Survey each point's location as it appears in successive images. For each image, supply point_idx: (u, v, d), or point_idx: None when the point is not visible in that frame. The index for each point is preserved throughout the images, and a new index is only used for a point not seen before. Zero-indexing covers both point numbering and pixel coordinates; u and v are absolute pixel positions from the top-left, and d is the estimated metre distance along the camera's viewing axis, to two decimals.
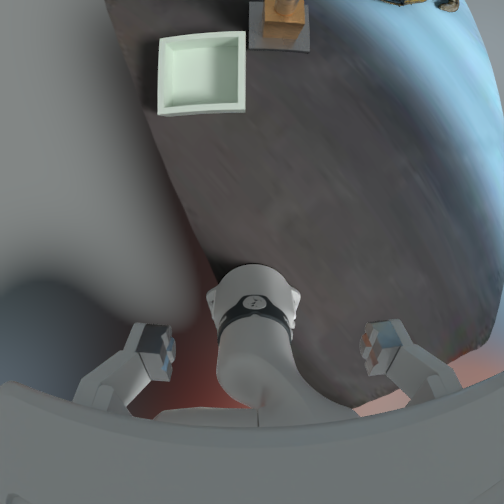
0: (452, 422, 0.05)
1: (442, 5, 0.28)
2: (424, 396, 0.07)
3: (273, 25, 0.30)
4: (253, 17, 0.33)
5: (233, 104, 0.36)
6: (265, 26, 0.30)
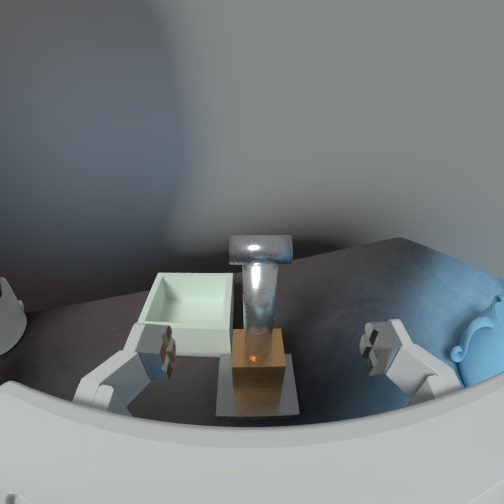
0: (452, 422, 0.05)
1: None
2: (424, 396, 0.07)
3: None
4: None
5: (144, 317, 0.37)
6: None
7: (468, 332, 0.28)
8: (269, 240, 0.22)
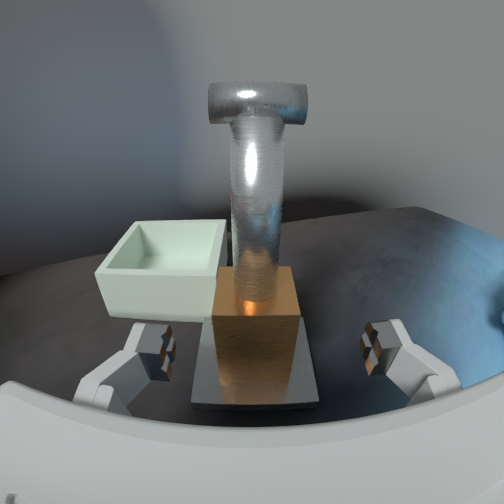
0: (452, 422, 0.05)
1: None
2: (424, 396, 0.07)
3: None
4: None
5: (106, 265, 0.27)
6: None
7: None
8: (271, 82, 0.12)
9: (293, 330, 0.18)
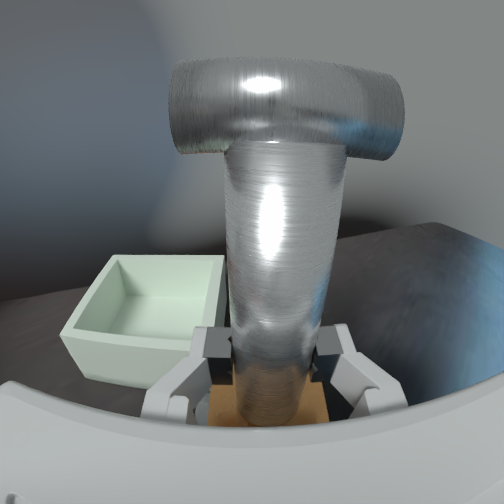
0: (452, 422, 0.05)
1: None
2: (361, 410, 0.07)
3: None
4: None
5: (73, 322, 0.19)
6: None
7: None
8: (320, 62, 0.05)
9: None
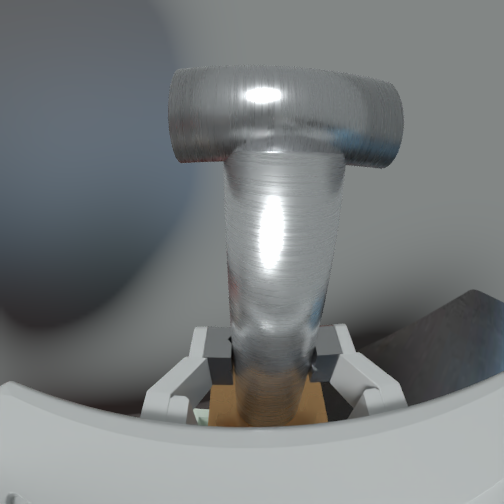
0: (452, 422, 0.05)
1: None
2: (361, 411, 0.07)
3: None
4: None
5: None
6: None
7: None
8: (319, 70, 0.05)
9: None
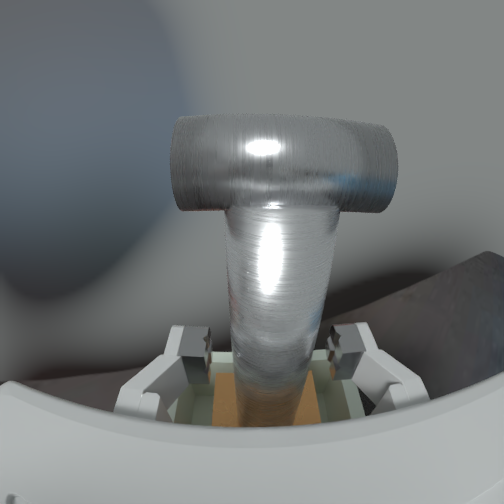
0: (452, 422, 0.05)
1: None
2: (386, 406, 0.07)
3: None
4: None
5: None
6: None
7: None
8: (317, 121, 0.06)
9: None
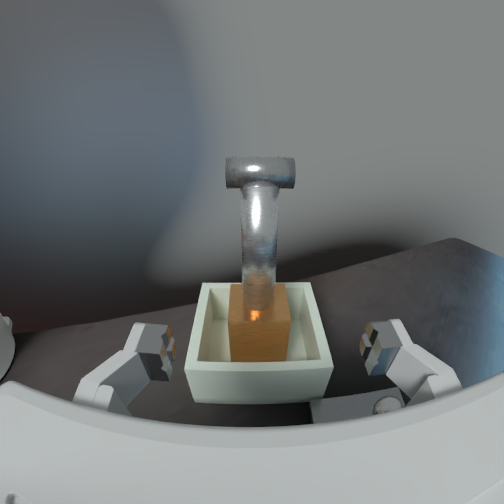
0: (452, 422, 0.05)
1: None
2: (424, 396, 0.07)
3: None
4: (370, 397, 0.24)
5: (195, 355, 0.24)
6: None
7: None
8: (269, 159, 0.20)
9: (286, 331, 0.25)
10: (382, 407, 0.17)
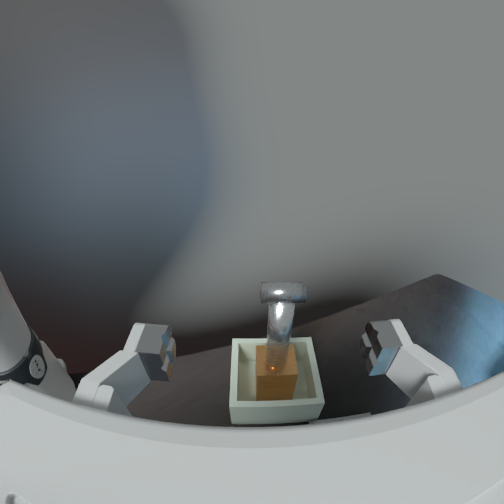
0: (452, 422, 0.05)
1: None
2: (424, 396, 0.07)
3: None
4: None
5: (235, 397, 0.34)
6: None
7: None
8: (290, 287, 0.30)
9: (294, 379, 0.36)
10: None
